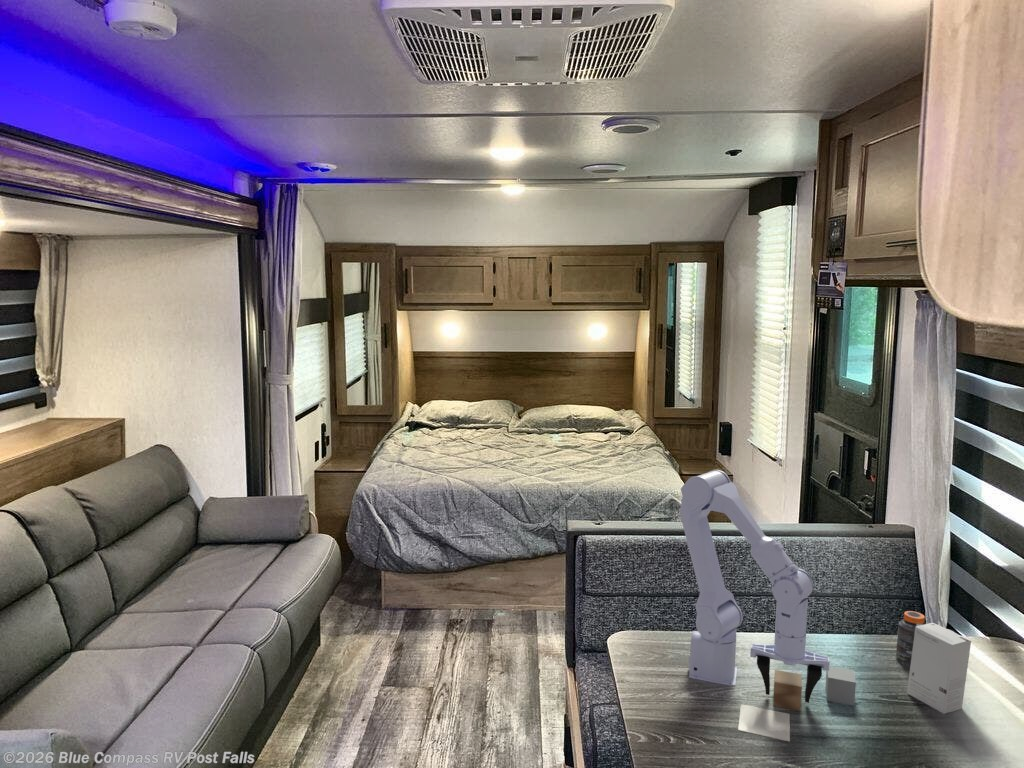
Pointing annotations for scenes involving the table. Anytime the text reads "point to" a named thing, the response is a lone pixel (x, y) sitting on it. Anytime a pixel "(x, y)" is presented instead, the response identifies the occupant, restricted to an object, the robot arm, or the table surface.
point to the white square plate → (764, 722)
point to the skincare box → (938, 667)
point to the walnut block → (787, 690)
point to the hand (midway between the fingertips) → (787, 696)
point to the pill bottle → (907, 636)
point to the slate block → (840, 685)
